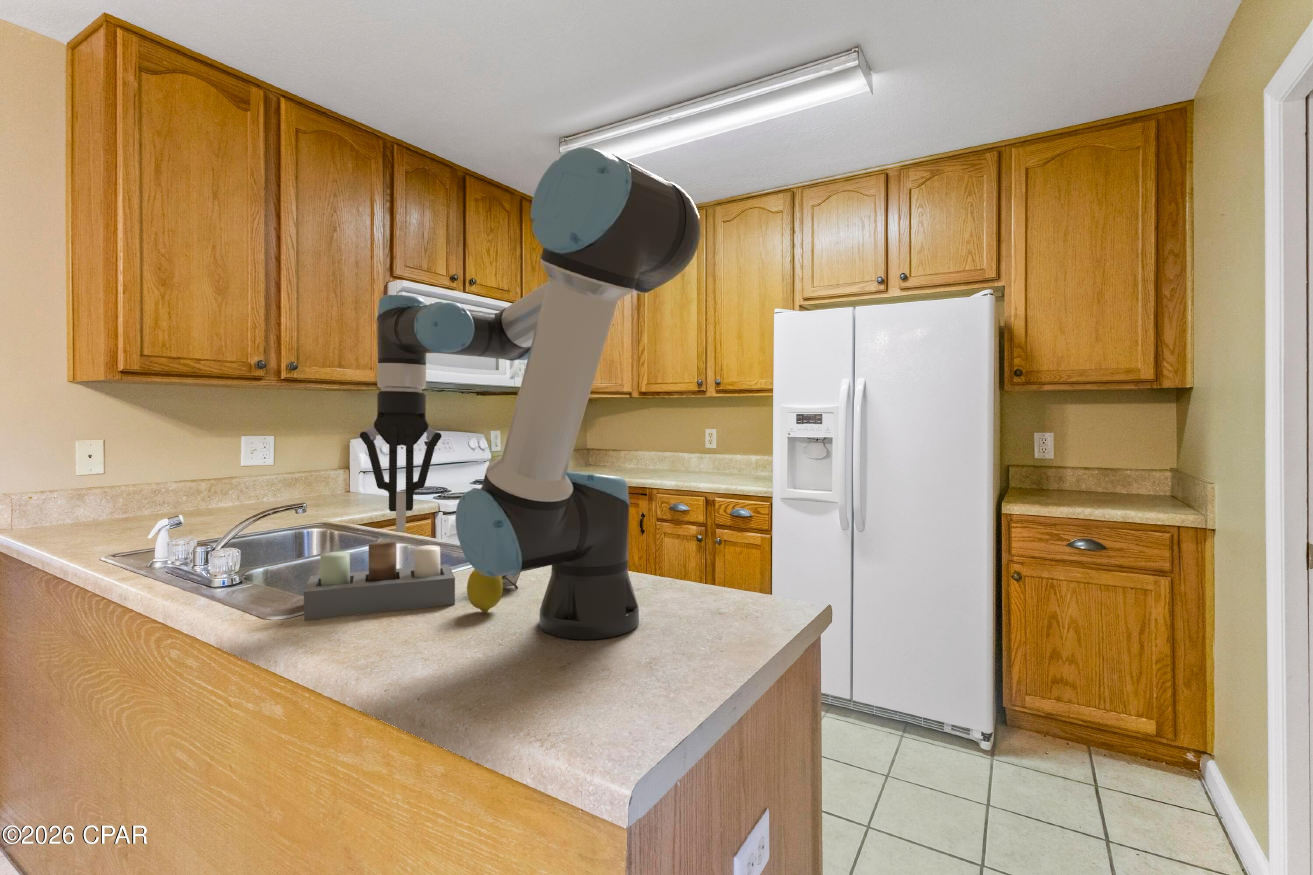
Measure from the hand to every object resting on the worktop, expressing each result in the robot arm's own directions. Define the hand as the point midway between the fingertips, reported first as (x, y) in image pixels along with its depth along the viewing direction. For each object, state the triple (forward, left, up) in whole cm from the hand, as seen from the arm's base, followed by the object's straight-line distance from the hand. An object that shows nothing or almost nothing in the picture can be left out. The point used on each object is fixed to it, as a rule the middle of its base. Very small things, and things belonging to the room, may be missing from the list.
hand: (400, 530), depth 106 cm
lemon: (-12, -12, -12) cm, 21 cm away
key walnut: (-1, +3, -9) cm, 9 cm away
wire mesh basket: (+1, -17, -12) cm, 21 cm away
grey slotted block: (-1, +3, -12) cm, 12 cm away
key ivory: (-1, -4, -10) cm, 11 cm away
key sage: (-1, +10, -10) cm, 14 cm away
